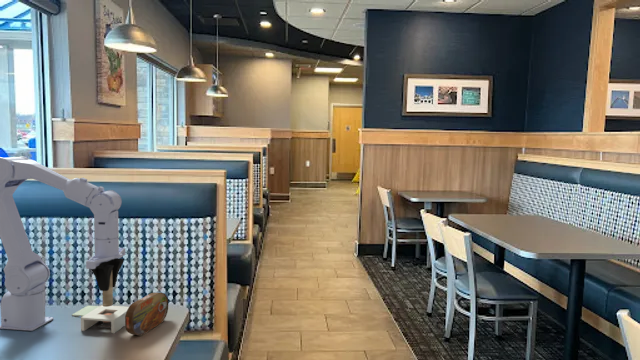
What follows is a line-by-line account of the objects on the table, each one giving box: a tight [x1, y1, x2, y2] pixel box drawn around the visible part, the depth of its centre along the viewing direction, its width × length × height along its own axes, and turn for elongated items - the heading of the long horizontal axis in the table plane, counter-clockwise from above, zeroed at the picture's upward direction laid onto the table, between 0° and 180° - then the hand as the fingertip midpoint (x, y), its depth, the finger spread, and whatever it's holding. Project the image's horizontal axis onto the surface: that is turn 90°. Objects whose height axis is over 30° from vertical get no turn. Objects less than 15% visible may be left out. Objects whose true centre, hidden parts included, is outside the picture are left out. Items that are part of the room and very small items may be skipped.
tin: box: [124, 291, 169, 336], centre depth 116 cm, size 15×3×8 cm, turn 165°
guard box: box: [80, 304, 129, 334], centre depth 118 cm, size 9×9×4 cm
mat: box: [71, 305, 100, 318], centre depth 126 cm, size 7×7×1 cm
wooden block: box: [102, 272, 114, 307], centre depth 117 cm, size 2×2×10 cm
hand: (107, 288), depth 117 cm, fingers closed on wooden block, 2 cm apart
